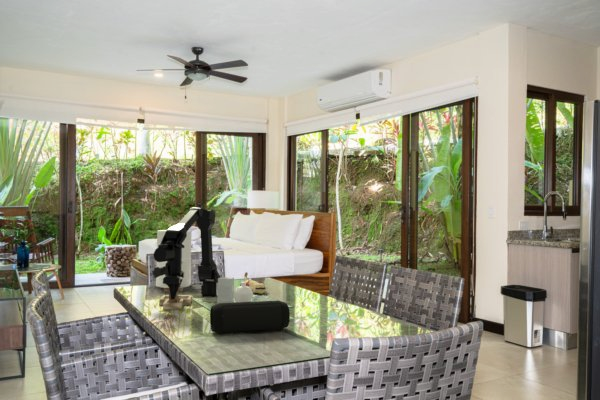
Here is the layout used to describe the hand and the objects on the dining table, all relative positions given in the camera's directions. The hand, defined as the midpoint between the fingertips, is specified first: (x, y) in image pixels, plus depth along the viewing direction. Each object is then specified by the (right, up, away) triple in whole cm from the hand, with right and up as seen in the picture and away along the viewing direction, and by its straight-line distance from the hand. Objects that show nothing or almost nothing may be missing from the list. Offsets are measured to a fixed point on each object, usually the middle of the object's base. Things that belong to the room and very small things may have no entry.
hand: (173, 298), depth 199 cm
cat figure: (+28, -5, +44) cm, 52 cm away
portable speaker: (+35, -5, -34) cm, 49 cm away
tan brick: (0, -3, 0) cm, 3 cm away
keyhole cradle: (-1, -4, +5) cm, 6 cm away
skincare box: (+21, -5, +3) cm, 21 cm away
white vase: (+29, -5, -7) cm, 30 cm away
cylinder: (-14, -4, +53) cm, 55 cm away
